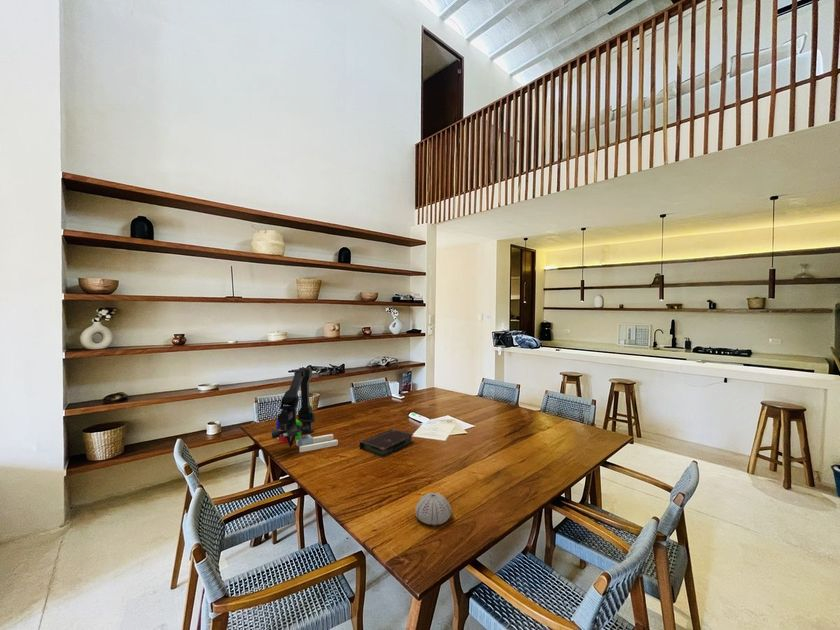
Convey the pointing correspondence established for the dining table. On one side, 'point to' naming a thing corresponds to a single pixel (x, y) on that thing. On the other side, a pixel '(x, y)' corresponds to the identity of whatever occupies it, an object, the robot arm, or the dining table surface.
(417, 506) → the sea urchin shell
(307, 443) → the block
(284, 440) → the puzzle toy
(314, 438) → the chute
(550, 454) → the dining table surface
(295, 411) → the robot arm
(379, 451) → the diary
